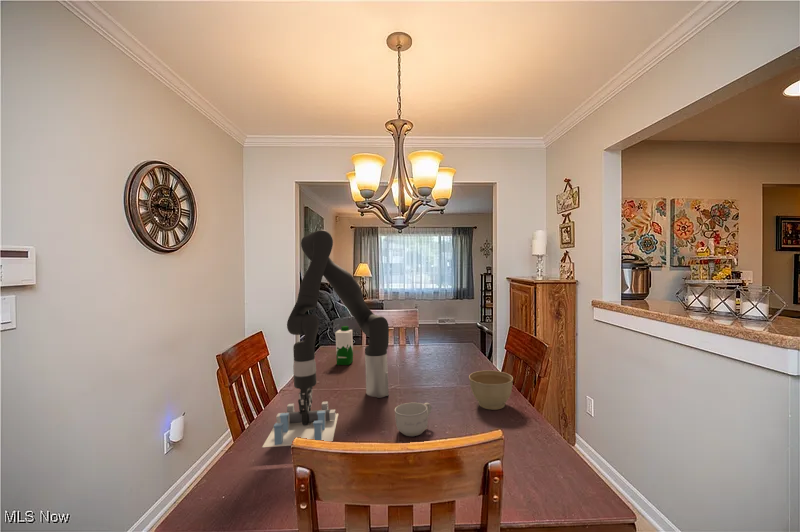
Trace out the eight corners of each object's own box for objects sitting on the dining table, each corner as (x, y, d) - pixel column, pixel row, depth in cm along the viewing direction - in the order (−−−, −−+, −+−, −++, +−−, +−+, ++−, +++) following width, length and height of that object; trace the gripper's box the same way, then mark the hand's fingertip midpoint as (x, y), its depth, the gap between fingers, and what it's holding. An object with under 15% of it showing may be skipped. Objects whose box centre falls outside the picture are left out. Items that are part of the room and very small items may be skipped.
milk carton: (354, 361, 201) (353, 325, 201) (350, 365, 192) (348, 328, 192) (339, 360, 203) (338, 325, 202) (334, 365, 194) (333, 328, 194)
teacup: (404, 443, 109) (404, 417, 109) (389, 429, 119) (388, 405, 119) (442, 432, 116) (442, 407, 116) (425, 419, 125) (424, 396, 125)
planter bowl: (484, 393, 147) (483, 367, 147) (521, 404, 136) (520, 375, 135) (461, 405, 136) (460, 377, 136) (499, 418, 124) (498, 387, 124)
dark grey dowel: (335, 417, 126) (335, 407, 126) (334, 422, 123) (334, 411, 123) (279, 421, 125) (278, 411, 125) (276, 426, 121) (275, 415, 121)
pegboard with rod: (338, 415, 131) (337, 398, 130) (332, 444, 110) (331, 424, 110) (279, 419, 129) (279, 401, 129) (262, 449, 108) (261, 428, 108)
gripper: (312, 378, 117) (314, 430, 117) (318, 365, 131) (320, 412, 131) (289, 379, 116) (291, 432, 116) (297, 366, 130) (299, 413, 130)
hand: (306, 421), depth 124 cm, fingers closed on dark grey dowel, 3 cm apart
